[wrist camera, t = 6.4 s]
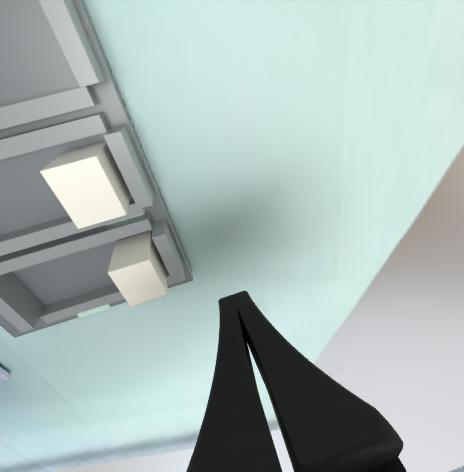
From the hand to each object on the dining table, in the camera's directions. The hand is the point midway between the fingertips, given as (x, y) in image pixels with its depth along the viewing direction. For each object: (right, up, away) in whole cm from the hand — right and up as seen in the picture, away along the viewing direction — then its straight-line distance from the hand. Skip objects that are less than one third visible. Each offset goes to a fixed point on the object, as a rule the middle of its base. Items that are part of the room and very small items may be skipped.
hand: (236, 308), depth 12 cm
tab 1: (-8, +7, +2) cm, 11 cm away
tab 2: (-7, +2, +5) cm, 9 cm away
